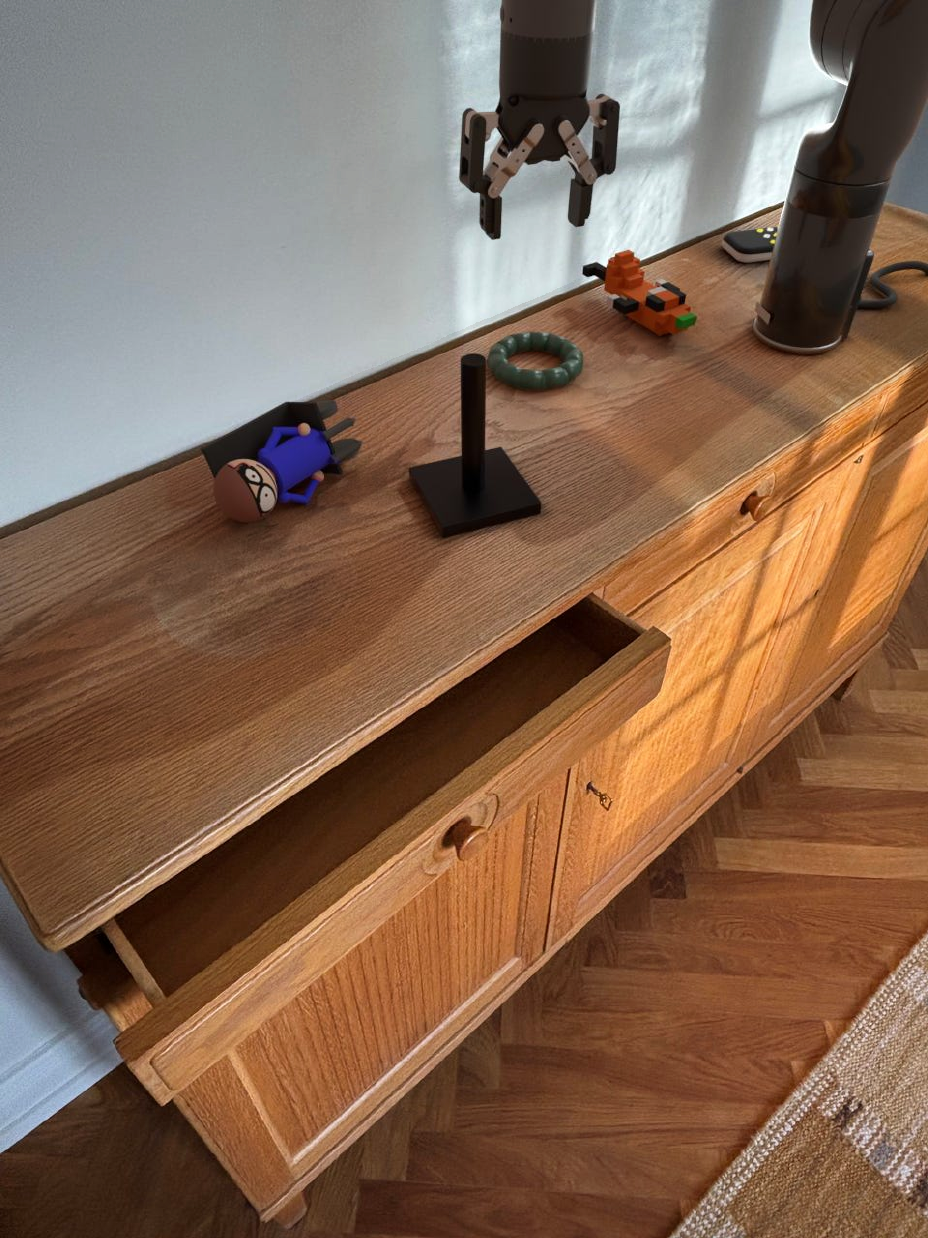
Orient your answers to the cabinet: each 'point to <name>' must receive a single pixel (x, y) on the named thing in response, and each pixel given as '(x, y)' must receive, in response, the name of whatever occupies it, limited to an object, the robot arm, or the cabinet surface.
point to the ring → (535, 377)
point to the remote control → (751, 244)
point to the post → (473, 470)
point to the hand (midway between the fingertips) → (534, 229)
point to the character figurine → (276, 458)
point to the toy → (642, 295)
